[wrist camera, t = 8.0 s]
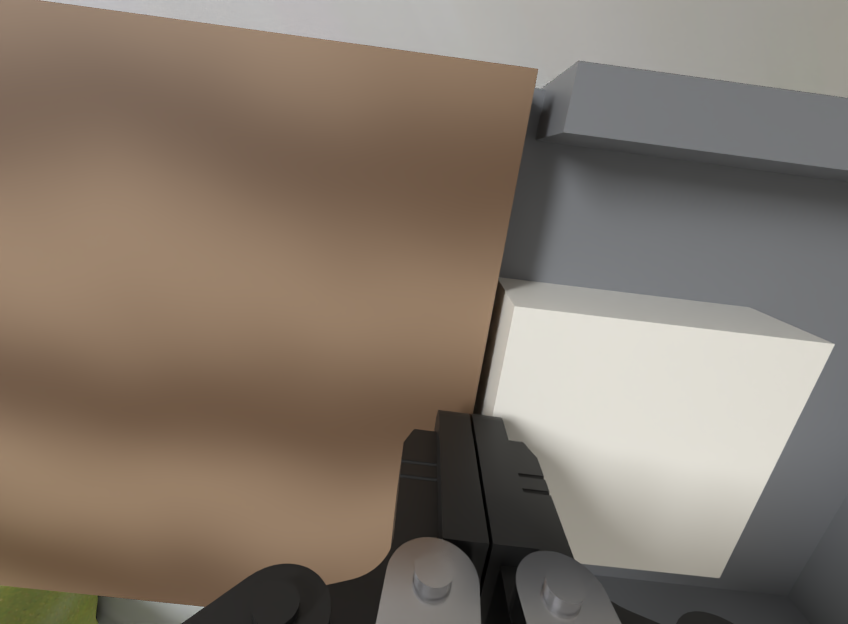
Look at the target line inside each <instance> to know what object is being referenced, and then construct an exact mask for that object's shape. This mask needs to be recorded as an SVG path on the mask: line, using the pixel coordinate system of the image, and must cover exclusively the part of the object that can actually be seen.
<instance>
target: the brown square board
mask: <svg viewBox="0 0 848 624" xmlns="http://www.w3.org/2000/svg"><path fill="white" fill-rule="evenodd" d="M537 73H538V69H535V68H527V67H520V66H513V65H506V64H498V63H491V62H484V61H477V60H469V59H462V58H455V57H448V56H440V55H433V54H426V53H418V52H411V51H404V50H397V49H389V48H382V47H375V46H368V45H360V44H353V43H346V42H339V41H331V40H324V39H317V38H309V37H302V36H295V35H288V34H280V33H273V32H266V31H259V30H251V29H244V28H237V27H230V26H222V25H215V24H208V23H200V22H193V21H186V20H179V19H171V18H164V17H157V16H150V15H142V14H135V13H128V12H121V11H113V10H106V9H99V8H92V7H84V6H77V5H70V4H62V3H55V2H48V1H41V0H0V585H1V586H11V587H20V588H30V589H40V590H49V591H59V592H69V593H78V594H88V595H97V596H107V597H117V598H126V599H136V600H145V601H155V602H165V603H174V604H184V605H193V606H203V607H206V606H207V605H209V604H210V603H212V602H213V601H214V600H216V599H217V598H219V597H220V596H221V595H223V594H224V593H226V592H227V591H229V590H230V589H231V588H233V587H234V586H236V585H237V584H238V583H240V582H241V581H243V580H244V579H246V578H247V577H248V576H250V575H252V574H253V573H255V572H257V571H259V570H261V569H263V568H265V567H269V566H272V565H277V564H298V565H302V566H305V567H307V568H309V569H311V570H313V571H314V572H316V573H317V574H318V575H319V576H320V577H321V578H322V580H323V581H324V582H325V584H326V585H329V584H333V583H338V582H342V581H347V580H351V579H354V578H358V577H360V576H363V575H365V574H367V573H369V572H370V571H372V570H373V569H375V568H376V567H377V566H378V565H379V564H380V563H381V562H382V561H383V560H384V559H385V557H386V556H387V554H388V552H389V551H390V548H391V540H392V531H393V521H394V512H395V503H396V494H397V487H398V480H399V472H400V465H401V457H402V450H403V442H404V441H405V440H406V438H407V437H408V436H409V435H410V433H411V432H412V431H413V430H414V429H419V430H427V431H434V428H435V422H436V416H437V412H438V410H444V411H452V412H461V413H468V414H469V415H470V414H473V410H474V405H475V400H476V394H477V389H478V384H479V378H480V373H481V368H482V363H483V357H484V352H485V347H486V342H487V336H488V331H489V326H490V320H491V315H492V310H493V305H494V299H495V294H496V289H497V284H498V278H499V273H500V268H501V262H502V257H503V252H504V247H505V241H506V236H507V231H508V226H509V220H510V215H511V210H512V204H513V199H514V194H515V189H516V183H517V178H518V173H519V168H520V162H521V157H522V152H523V146H524V141H525V136H526V131H527V125H528V120H529V115H530V110H531V104H532V99H533V94H534V89H535V83H536V78H537Z"/></svg>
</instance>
